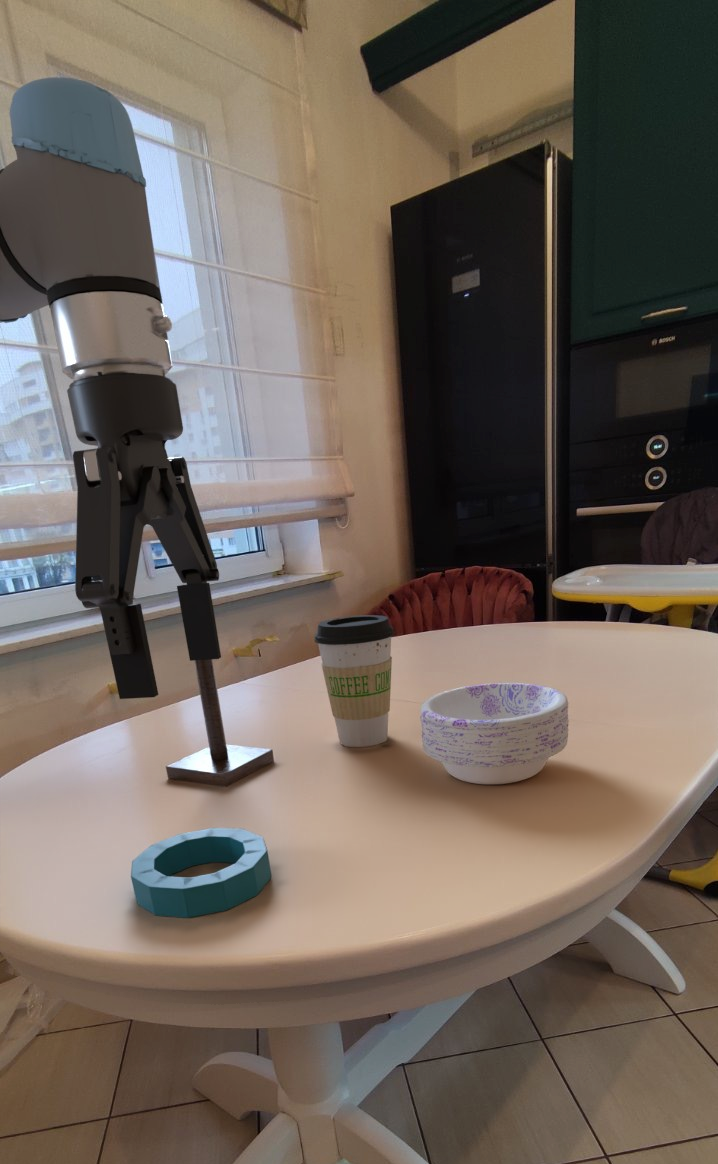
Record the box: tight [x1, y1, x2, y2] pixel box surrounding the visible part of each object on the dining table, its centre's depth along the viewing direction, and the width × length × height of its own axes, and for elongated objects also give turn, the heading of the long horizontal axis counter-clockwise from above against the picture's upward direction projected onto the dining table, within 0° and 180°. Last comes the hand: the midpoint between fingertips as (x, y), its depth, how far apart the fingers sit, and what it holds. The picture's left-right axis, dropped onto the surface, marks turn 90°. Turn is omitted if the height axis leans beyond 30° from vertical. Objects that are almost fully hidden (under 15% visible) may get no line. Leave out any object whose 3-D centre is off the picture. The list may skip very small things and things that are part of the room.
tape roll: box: [130, 827, 272, 919], centre depth 59 cm, size 11×11×2 cm
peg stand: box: [165, 659, 275, 787], centre depth 84 cm, size 9×9×16 cm
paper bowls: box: [419, 682, 569, 785], centre depth 77 cm, size 15×15×8 cm
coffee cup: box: [313, 614, 396, 748], centre depth 90 cm, size 10×10×15 cm
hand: (175, 676), depth 59 cm, fingers open, 13 cm apart
